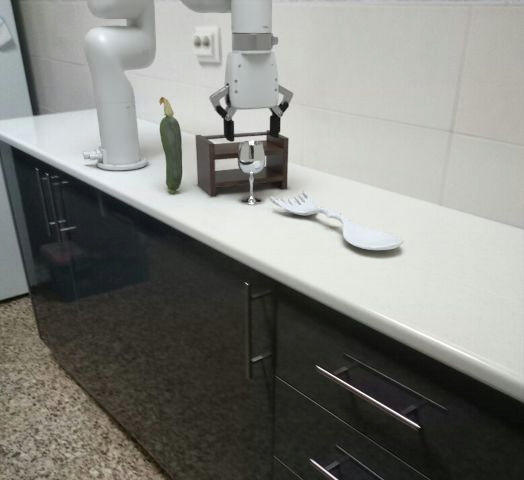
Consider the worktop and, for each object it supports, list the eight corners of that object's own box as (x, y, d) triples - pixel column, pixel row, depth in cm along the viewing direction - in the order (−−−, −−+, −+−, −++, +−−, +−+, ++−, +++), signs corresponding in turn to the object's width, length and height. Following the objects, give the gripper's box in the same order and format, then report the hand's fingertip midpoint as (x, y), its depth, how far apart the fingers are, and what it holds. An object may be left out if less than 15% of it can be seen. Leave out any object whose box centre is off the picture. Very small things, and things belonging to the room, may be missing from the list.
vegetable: (187, 192, 130) (182, 96, 120) (179, 197, 127) (172, 99, 116) (169, 190, 131) (163, 94, 121) (160, 195, 128) (153, 97, 118)
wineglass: (261, 205, 122) (262, 146, 116) (235, 204, 123) (234, 145, 117) (267, 198, 127) (267, 141, 121) (241, 196, 128) (240, 139, 122)
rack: (210, 196, 128) (209, 143, 122) (197, 185, 135) (195, 135, 130) (287, 188, 134) (288, 138, 128) (270, 178, 142) (271, 129, 136)
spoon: (303, 204, 123) (304, 188, 121) (412, 253, 100) (415, 233, 98) (268, 211, 119) (268, 194, 117) (373, 263, 96) (375, 243, 94)
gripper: (285, 42, 115) (283, 132, 124) (202, 44, 110) (206, 138, 119) (301, 44, 109) (298, 139, 118) (214, 46, 104) (218, 145, 113)
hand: (252, 138), depth 118 cm, fingers open, 9 cm apart
